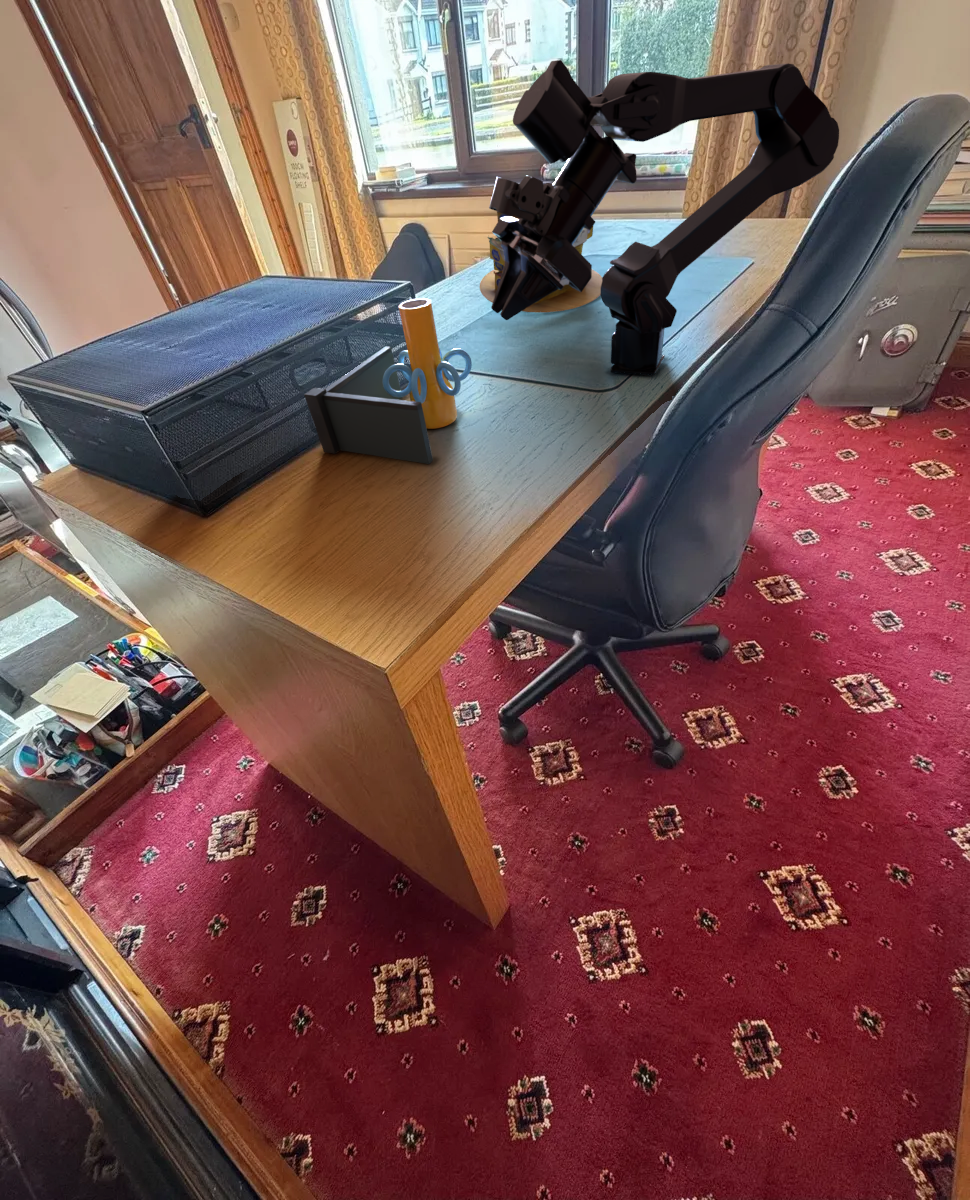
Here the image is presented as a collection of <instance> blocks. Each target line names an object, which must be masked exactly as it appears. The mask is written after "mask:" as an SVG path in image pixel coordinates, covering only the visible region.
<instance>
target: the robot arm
mask: <svg viewBox="0 0 970 1200" xmlns="http://www.w3.org/2000/svg"><path fill="white" fill-rule="evenodd" d="M745 113H752V114H753V115H754V128H755V136H756V137H757V139H758V141H759V143H758V145H757V146H756V148H755V150H754V152H753V154H752V157H751V159H750V161H749V163H748V165H746V167H745V168H744V169H742V171H740V172H739V173H738V174H737V175H735V177H733V178H732V179H731V180H730V181H729V182H727V184H725V185H724V186H723V187H722V188H721V189H719V190H718V191H717V192H716V193H715V194H714V195H712V196H711V197H710V198H709V199H708V200H706V201H705V202H704V203H703V204H702V205H701V206H699V208H698V209H696V210H695V211H694V212H693V213H692V214H690V215H689V216H688V217H687V218H685V219H684V220H683V221H682V222H681V223H680V224H678V226H676V227H675V228H673V230H672V231H671V232H669V233H668V234H666V236H665V237H664V238H662V239H660V241H659V242H658V243H656V244H654V245H647V244H644V243H641V242H639V241H634V242H633V243H631V244H630V245H629V246H628V247H627V248H626V249H625V251H624V252H623V253H622V254H621V255H619V256H618V257H617V258H614V259H612V260H610V261H609V264H610V265H611V266H610V267H609V268H608V269H607V270H606V271H605V273H604V274H603V276H601V277H602V284H601V290H600V298H601V302H602V303H603V305H604V306H605V307H607V308H608V310H609V313H610V316H611V319H615V320H617V323H616V324H615V331H614V332H613V333H612V335H611V339H610V340H611V341H610V343H611V344H610V364H611V365H612V366H611V367H610V368H609V369H610V371H609V372H610V373H613V374H625V375H638V376H639V375H640V376H655V375H656V374H657V372H658V370H660V367H661V366H662V363H664V361H665V355H664V354H663V348H664V340H665V339H664V338H665V330H666V329H668V328H670V327H672V325H673V323H674V321H675V318H676V316H677V311H678V310H677V308H676V307H675V306H674V305H673V304H672V303H671V302H670V301H669V300H668V299H667V298H668V296H669V295H670V293H671V291H672V289H673V286H674V285H675V283H676V281H677V278H678V276H679V275H680V274H681V273H682V272H683V271H684V270H685V269H687V268H688V267H689V266H691V265H692V264H693V263H694V262H695V261H696V260H697V259H698V258H700V257H701V256H702V255H704V254H705V253H706V252H707V251H708V250H709V249H711V247H713V246H714V245H715V244H717V243H718V242H719V241H720V240H721V239H722V238H723V237H725V236H726V235H727V234H729V233H730V232H731V231H732V230H733V229H734V228H736V227H737V226H738V225H739V224H740V223H741V222H743V221H744V220H745V219H746V218H747V217H748V216H750V215H751V214H752V213H754V212H755V211H756V210H757V209H758V208H760V207H761V206H762V205H763V204H764V203H766V201H768V200H769V199H770V198H772V197H774V196H777V195H779V194H781V193H784V192H787V191H789V190H792V189H795V188H797V187H800V186H801V185H803V184H805V183H806V182H809V181H810V180H812V179H813V178H815V177H816V176H818V175H819V174H821V173H823V172H824V171H825V170H826V169H827V168H828V167H829V166H830V164H831V163H832V161H833V160H834V158H835V154H836V152H837V149H838V146H839V140H840V127H839V124H838V122H837V120H836V119H835V118H834V117H832V116H831V113H830V111H829V109H828V107H827V105H826V104H825V103H824V102H823V100H821V99H820V97H818V96H817V94H816V93H815V92H814V91H813V90H812V89H811V88H810V87H809V86H808V85H807V84H806V81H805V79H804V76H803V74H802V72H801V70H800V69H799V67H797V66H795V64H793V63H777V64H776V63H775V64H767V65H763V66H762V67H760V68H756V69H749V70H742V71H735V72H726V73H720V74H713V75H704V76H698V77H697V76H696V77H685V76H680V75H676V74H671V73H663V72H656V71H641V72H631V73H620V74H617V75H614V76H613V77H612V78H611V79H609V80H608V82H607V84H606V86H605V88H604V89H603V90H602V92H601V93H598V94H596V95H592V96H587V95H586V94H585V92H584V91H583V90H582V89H581V88H580V86H579V85H578V83H577V82H576V81H575V79H574V78H573V77H572V75H571V73H570V69H569V68H568V67H567V66H566V64H565V63H564V62H563V60H562V59H557V60H551V61H550V62H549V64H548V65H547V68H546V69H545V71H544V72H543V73H542V74H540V75H539V76H538V77H537V78H536V79H535V81H534V82H533V83H532V84H531V85H530V87H529V88H528V90H527V89H526V90H525V91H524V92H523V94H522V96H521V97H520V99H519V101H518V103H517V106H516V108H515V111H514V113H513V117H512V124H513V125H514V126H515V128H517V129H518V131H519V132H520V133H521V134H522V135H523V136H524V137H525V138H526V140H527V141H528V142H529V143H530V144H531V145H532V146H533V147H534V148H535V150H536V151H537V152H538V153H539V154H540V156H542V157H543V159H544V160H545V161H546V162H547V163H548V164H550V165H552V164H555V163H557V162H559V161H560V162H561V163H565V162H566V163H565V164H564V166H563V167H562V168H561V171H560V172H559V174H558V176H557V177H556V178H555V181H554V182H553V183H550V182H546V183H544V181H543V180H542V179H540V178H536V177H534V176H531V175H525V176H524V177H523V178H522V180H521V181H520V183H518V182H517V181H513V180H510V179H507V178H503V177H500V176H496V179H495V183H494V186H493V191H492V196H491V199H490V203H489V207H488V208H489V210H492V211H494V212H496V213H497V212H499V213H502V214H505V215H507V216H509V217H504V218H500V219H499V221H498V220H497V223H496V225H494V227H493V229H492V231H491V233H492V234H493V235H494V236H495V238H498V239H500V240H501V247H502V248H503V254H504V259H505V264H504V268H503V271H502V275H501V278H500V281H499V285H498V288H497V291H496V294H495V297H494V300H493V303H492V305H491V310H492V311H493V312H495V314H499V313H500V317H501V318H503V319H504V320H505V321H509V320H511V319H512V318H513V317H515V316H516V315H518V314H520V313H522V312H524V311H523V310H524V309H526V308H527V307H529V306H530V305H532V304H534V303H535V302H537V301H539V300H540V299H542V298H544V297H546V296H547V295H549V294H551V293H553V292H554V291H556V290H558V289H559V290H561V289H562V288H563V287H564V286H563V285H562V284H561V283H560V281H561V280H562V278H563V277H565V278H566V279H567V280H569V285H570V286H571V287H572V288H574V289H576V290H578V291H580V292H582V291H583V289H584V288H585V286H586V285H587V283H588V282H589V281H590V279H591V278H592V269H593V265H592V263H590V262H589V260H587V258H586V257H585V256H584V255H583V254H582V255H581V254H580V253H579V251H578V250H577V249H576V248H575V247H574V246H573V243H574V242H575V240H576V239H577V237H578V236H579V234H580V233H581V231H582V230H583V228H586V229H589V230H591V228H592V227H593V228H594V225H595V224H596V220H595V219H594V218H593V217H592V216H593V215H594V213H595V212H596V210H597V209H598V208H599V206H600V204H601V203H602V201H603V199H604V198H605V197H606V195H607V194H608V192H609V190H610V189H611V187H612V186H613V184H614V183H615V181H618V182H622V183H626V184H635V183H636V182H637V179H638V177H637V167H636V161H637V154H636V153H631V152H625V153H624V151H623V150H622V149H621V147H619V145H618V144H617V143H616V141H627V142H628V141H629V142H641V143H644V142H647V141H650V140H652V139H654V138H657V137H659V136H662V135H665V134H668V133H670V132H671V131H673V130H674V129H676V128H677V127H679V126H681V125H683V124H686V123H688V122H691V121H692V122H693V121H698V120H699V121H700V120H705V119H711V118H712V119H713V118H718V117H726V116H732V115H739V114H745ZM593 126H594V127H600V128H601V130H602V131H603V133H604V134H605V136H603V137H602V136H601V135H600V134H599V133H598V131H596V129H595V128H594V127H593ZM615 140H616V141H615ZM512 216H516V217H519V218H520V219H519V220H517V219H515V218H512Z"/></svg>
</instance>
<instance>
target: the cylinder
mask: <svg viewBox="0 0 970 1200" xmlns="http://www.w3.org/2000/svg"><path fill="white" fill-rule="evenodd" d="M398 312H399V315H400V320H401V326H402V331H403V335H404V340H405V345H406V350H402V351H400V352H399V353H398V357H397V363H395V365H392V366H390V367H389V368H388V369H387V370H386V371H385V373H384V376H383V386H384V388H385V390H386V391H387V393H388V394H390V395H391V396H394V397H403V398H404V397H407V396H408V395H409V401H415V402H421V404H422V408H423V413H424V418H425V423H426V428H427V430H433V429H440V428H444V427H447V426H449V425H451V424H453V423H454V422H455V421H456V420H457V418H458V410H457V404H456V397H455V396H457V395H458V394H459V393H460V391H461V385H462V384H461V383H462V381H464V380H465V379H467V377H468V376H469V375H470V373H471V371H472V366H473V365H472V358H471V356H470V355H469V353H468V352H467V351H466V350H464V349H462V348H453V349H450V350H449V351H447V352H446V353H445V354H444V356H443V354H442V351H441V348H440V346H439V341H438V334H437V328H436V322H435V316H434V310H433V304H432V299H429V298H426V297H420V298H411V299H408V300H405V301H403V302H401V303H400V304H398ZM454 356H460V357H462V358H463V359H464V362H465V368H464V370H463V371H462V373H460V374H459V372H458V371H457V369H456V368H455V367H454V365H452V364H451V363H449V361H450V359H451V358H453V357H454ZM405 358H407V359H408V360H409V365H410V367H409V366H408V365H406V364H405ZM395 371H397V372H398V371H400V373H401V375H402V376H403V377H404V379H405V380H406V381H408V384H407V386H406V387H405V388H404V389H401V391H395V390H393V389H392V388H391V387H390V385H389V377H390V375H391V374H392V373H393V372H395ZM451 382H452V383H454V385H453V384H452V383H451ZM453 386H454V387H453Z"/></svg>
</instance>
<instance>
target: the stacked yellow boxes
mask: <svg viewBox="0 0 970 1200" xmlns="http://www.w3.org/2000/svg"><path fill="white" fill-rule="evenodd" d="M496 216H497V222H498V221H499V219H500V218H504V217H509V216H507V215H505V214H502V213H499V212H497V211H496ZM512 218H515V219H517V220H519V219H520V218H519V217H516V216H512ZM593 234H594V226H593V227H592V228H591V230H589V229H586V228H583V230H582V231H581V233H580V234H579V236H578V237H577V239H576V240H575V242H574V243H573V246H574V247H575V248H576V249H577V250H578V251H579V253H580V254H581V255H582V256H583V247H584V244H585V243H587V241H588V240H590V238H592V237H593V236H594V235H593ZM486 238H487V239H488V243H489V259H490V260H493V261H492V262H493V269H492V270H490V271H489V272H488V273H486V274H485V275H484V276H483V277H482V279H481V280H480V282H479V291H480V293H481V295H482V297H484V298H485V300H487V301H489V302H490V303H492V304H493V300H494V297H495V294H496V291H497V288H498V285H499V281H500V278H501V275H502V271H503V268H504V264H505V259H504V254H503V248H502V247H501V240H500V239H498V238H497V237H495V238H493V237H490V236H489V235H487V237H486ZM602 277H603V276H602V275H601V274H600V273H599V272H597V271H596V270H594V269H593V268H592V278H591V279H590V281H589V282H588V283H587V285H586V286H585V288H584V289H583V291H582V292H580V291H578V290H576V289H574V288H572V287H571V286H570V285H569V280H567V279H566V278H565V277H563V278H562V280H561V281H560V283H561V284H562V285H563V286H564V287H563V288H562V289H561V290H559V289H558V290H556V291H554V292H553V293H551V294H549V295H547V296H546V297H544V298H542V299H540V300H539V301H537V302H535V303H534V304H532V305H530V306H529V307H527V308H526V309H524V310H523V311H522V312H525V313H535V314H537V313H555V312H562V311H568V310H572V309H576V308H581V307H582V306H585V305H587V304H589V303H592V302H593V301H595V300H596V299H598V298H599V297H601V295H600V290H601V284H602Z"/></svg>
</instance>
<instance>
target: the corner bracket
mask: <svg viewBox="0 0 970 1200" xmlns="http://www.w3.org/2000/svg"><path fill="white" fill-rule="evenodd" d="M360 363H361V364H360V365H358V366H357V367H355V368H354V369H353V370H351V371H350V372H348V373H347V374H345V375H344V376H342V377H341V378H340V379H338V380H337V381H335V382H334V383H332V384H331V385H330V386H328V387H327V388H321V387H312V388H311V389H310V390H308V391H307V392H305V393H304V395H303V396H304V399H305V402H306V406H307V407H308V410H309V414H310V416H311V419H312V422H313V425H314V427H315V430H316V434H317V436H318V439H319V442H320V445H321V448H322V451H323V453H327V454H334V455H335V454H338V452H339V451H342V452H348V453H354V454H355V453H356V454H360V455H361V454H362V455H368V456H375V457H381V458H388V459H394V460H400V461H407V462H413V463H420V464H427V465H430V464H431V463H432V462H433V461H434V457H433V454H432V448H431V442H430V439H429V433H428V429H427V428H426V423H425V418H424V413H423V408H422V404H421V402H415V401H410V400H404V399H403V398H404V397H394V396H391V395H390V394H388V393H387V391H386V390H385V388H384V386H383V376H384V373H385V371H386V370H387V369H388V368H389V367H390V366H392V365H395V364H396V362H395V357H394V353H393V349H392V346H384V347H383V348H381V349H380V350H379V351H377V352H376V353H374V354H373V355H371V356H369V357H368V358H367V359H365V360H364V361H362V362H360ZM399 380H400V379H399V376H398V371H395V372H393V373H392V374H391V375H390V377H389V385H390V387H391V388H392V389H393V390H395V391H402V389H401V385H400V381H399Z"/></svg>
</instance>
